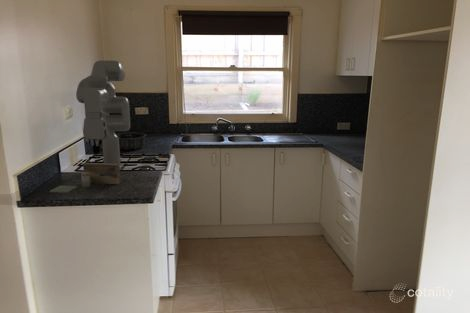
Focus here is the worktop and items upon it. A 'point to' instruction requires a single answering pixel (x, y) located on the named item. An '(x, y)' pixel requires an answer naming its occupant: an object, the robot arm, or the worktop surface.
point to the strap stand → (99, 168)
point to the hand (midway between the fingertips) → (96, 153)
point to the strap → (107, 172)
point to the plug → (85, 179)
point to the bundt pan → (131, 140)
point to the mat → (63, 189)
